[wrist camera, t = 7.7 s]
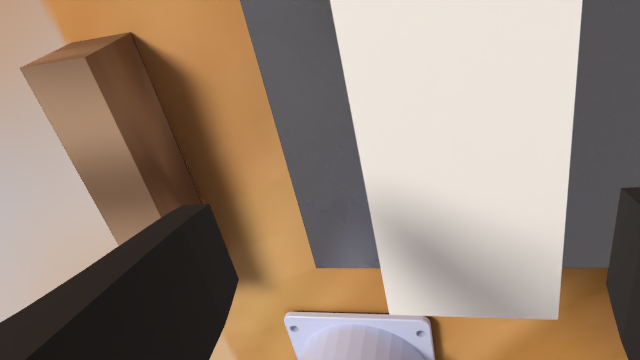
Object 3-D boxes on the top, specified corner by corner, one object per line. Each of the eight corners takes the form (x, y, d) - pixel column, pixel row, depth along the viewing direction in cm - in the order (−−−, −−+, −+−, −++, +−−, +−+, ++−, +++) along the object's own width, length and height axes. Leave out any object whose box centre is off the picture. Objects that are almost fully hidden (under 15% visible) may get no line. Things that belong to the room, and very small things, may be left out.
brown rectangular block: (222, 254, 25) (199, 297, 23) (174, 255, 26) (146, 296, 24) (130, 32, 19) (84, 57, 17) (71, 42, 20) (19, 68, 18)
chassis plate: (643, 250, 19) (682, 328, 16) (320, 254, 24) (301, 316, 20) (791, -521, 9) (977, -726, 6) (176, -277, 13) (89, -321, 10)
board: (543, 261, 16) (557, 319, 14) (396, 262, 17) (389, 314, 15) (571, -297, 9) (609, -344, 7) (317, -216, 10) (285, -234, 8)
